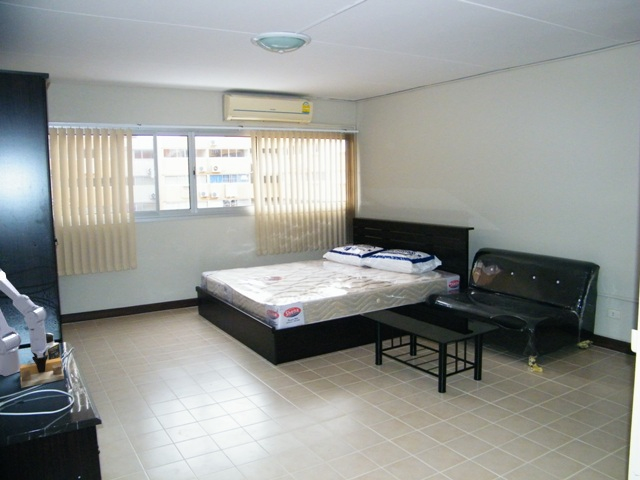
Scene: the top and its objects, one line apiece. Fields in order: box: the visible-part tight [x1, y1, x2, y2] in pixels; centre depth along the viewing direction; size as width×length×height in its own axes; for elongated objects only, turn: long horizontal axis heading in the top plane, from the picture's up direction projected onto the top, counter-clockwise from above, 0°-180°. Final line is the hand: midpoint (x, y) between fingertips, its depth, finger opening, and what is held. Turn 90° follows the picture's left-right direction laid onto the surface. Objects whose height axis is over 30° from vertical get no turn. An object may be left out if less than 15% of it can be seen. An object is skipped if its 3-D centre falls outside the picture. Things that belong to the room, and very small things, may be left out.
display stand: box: [20, 364, 65, 389], centre depth 207 cm, size 15×8×4 cm, turn 120°
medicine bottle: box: [45, 332, 61, 360], centre depth 227 cm, size 7×7×12 cm
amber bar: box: [19, 357, 63, 378], centre depth 214 cm, size 15×4×4 cm, turn 120°
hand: (41, 369), depth 214 cm, fingers open, 7 cm apart
